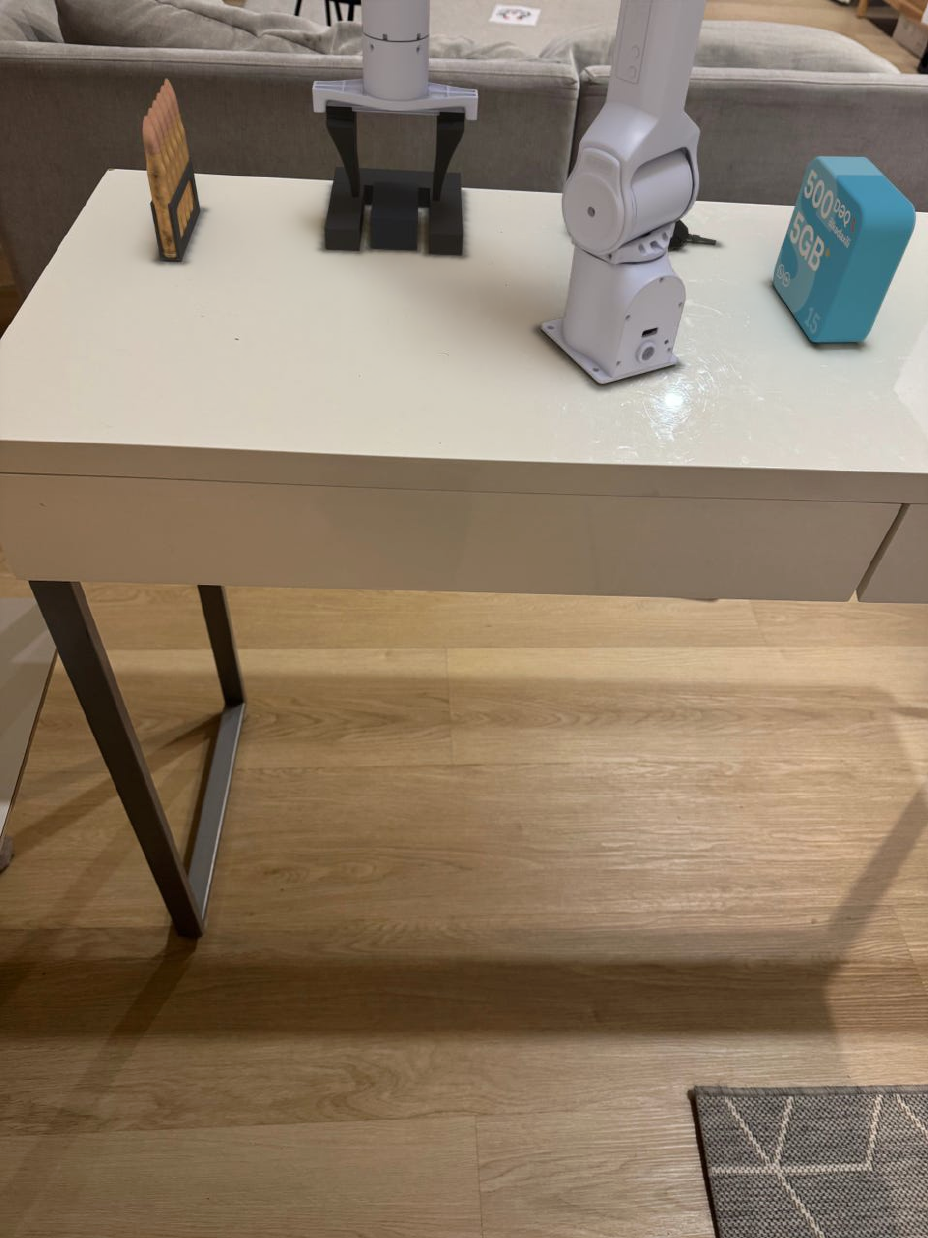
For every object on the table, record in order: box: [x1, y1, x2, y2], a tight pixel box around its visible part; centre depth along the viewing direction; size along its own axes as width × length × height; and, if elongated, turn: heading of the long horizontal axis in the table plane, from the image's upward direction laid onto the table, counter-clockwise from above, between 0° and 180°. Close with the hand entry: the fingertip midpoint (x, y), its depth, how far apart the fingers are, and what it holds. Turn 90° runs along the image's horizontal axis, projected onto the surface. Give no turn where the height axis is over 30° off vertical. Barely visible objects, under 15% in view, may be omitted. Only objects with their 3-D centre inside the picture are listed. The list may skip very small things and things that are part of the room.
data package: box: [773, 155, 917, 343], centre depth 78 cm, size 12×4×12 cm, turn 6°
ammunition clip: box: [142, 78, 201, 262], centre depth 82 cm, size 11×2×12 cm, turn 1°
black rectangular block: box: [369, 181, 419, 251], centre depth 88 cm, size 8×4×3 cm, turn 1°
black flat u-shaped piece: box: [324, 166, 464, 256], centre depth 90 cm, size 14×13×2 cm
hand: (396, 194), depth 87 cm, fingers open, 7 cm apart
